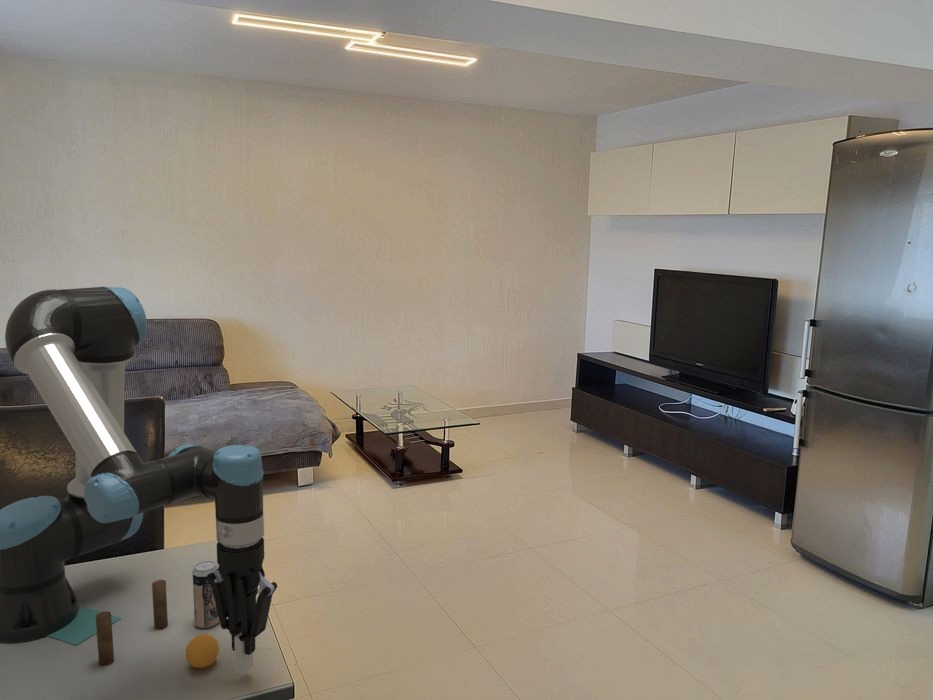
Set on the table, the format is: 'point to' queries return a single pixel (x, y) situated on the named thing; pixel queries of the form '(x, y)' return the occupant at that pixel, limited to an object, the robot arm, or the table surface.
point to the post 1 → (104, 638)
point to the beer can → (204, 596)
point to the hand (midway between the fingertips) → (244, 668)
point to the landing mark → (80, 627)
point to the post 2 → (159, 604)
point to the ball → (202, 651)
